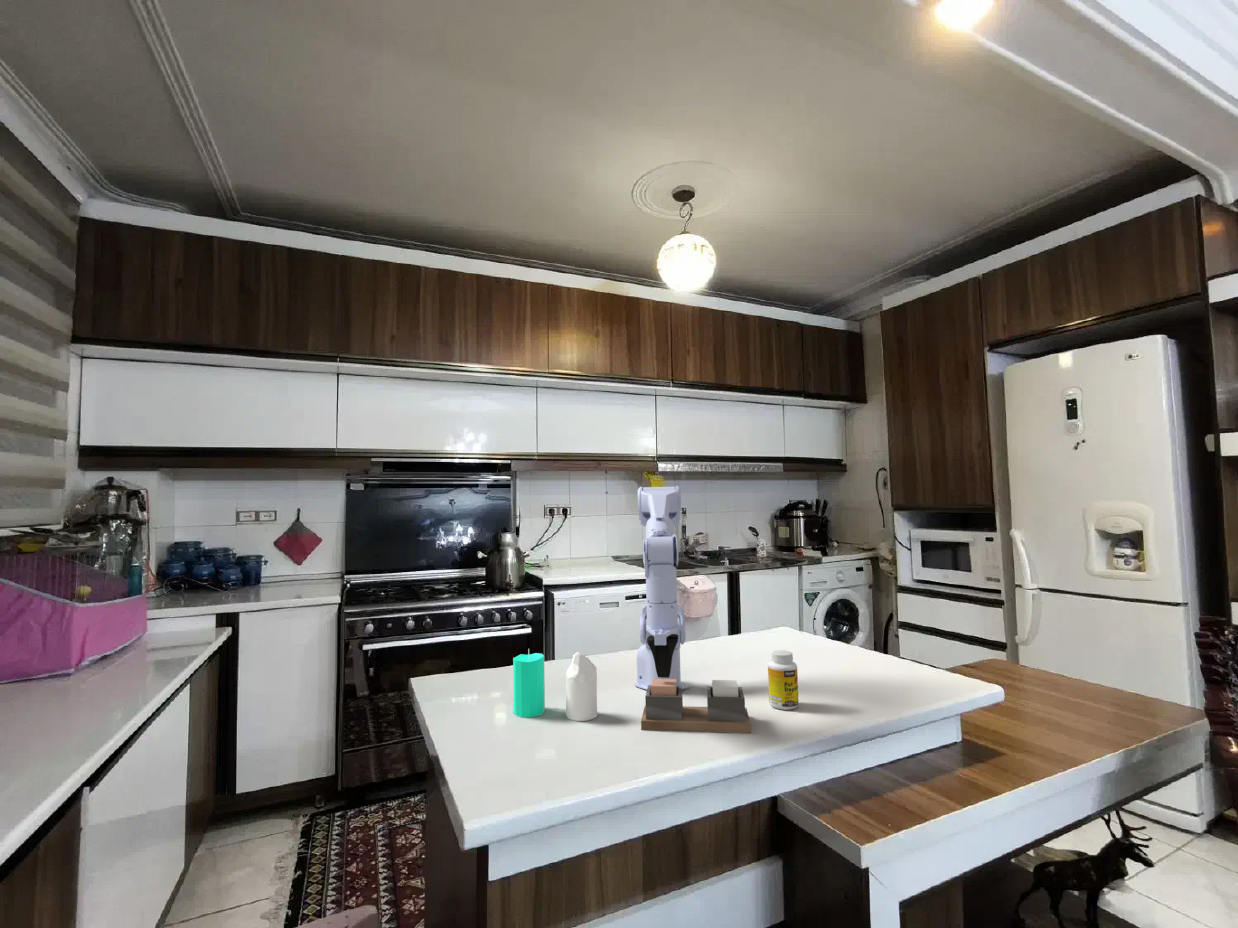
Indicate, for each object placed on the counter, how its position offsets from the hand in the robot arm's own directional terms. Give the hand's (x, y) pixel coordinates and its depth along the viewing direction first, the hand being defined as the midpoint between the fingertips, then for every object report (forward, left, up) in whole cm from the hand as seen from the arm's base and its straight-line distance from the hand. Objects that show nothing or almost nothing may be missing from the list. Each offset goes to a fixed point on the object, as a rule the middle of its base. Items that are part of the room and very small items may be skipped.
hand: (663, 676), depth 104 cm
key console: (+4, +4, -8) cm, 10 cm away
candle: (-22, -15, -8) cm, 28 cm away
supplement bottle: (+10, +23, -8) cm, 26 cm away
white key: (+8, +7, -4) cm, 12 cm away
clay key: (0, 0, -4) cm, 4 cm away
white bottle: (-13, -9, -8) cm, 18 cm away
